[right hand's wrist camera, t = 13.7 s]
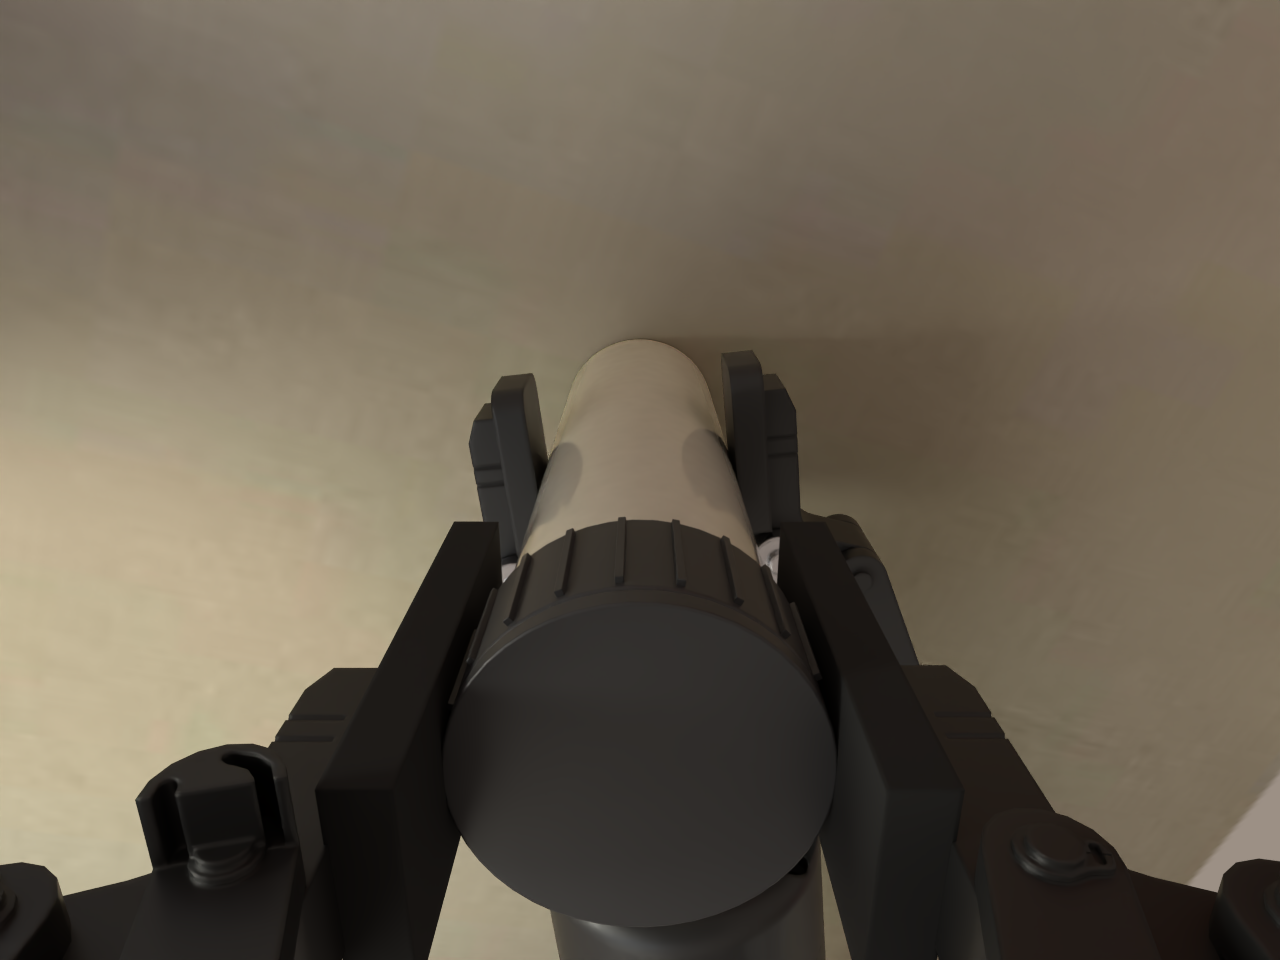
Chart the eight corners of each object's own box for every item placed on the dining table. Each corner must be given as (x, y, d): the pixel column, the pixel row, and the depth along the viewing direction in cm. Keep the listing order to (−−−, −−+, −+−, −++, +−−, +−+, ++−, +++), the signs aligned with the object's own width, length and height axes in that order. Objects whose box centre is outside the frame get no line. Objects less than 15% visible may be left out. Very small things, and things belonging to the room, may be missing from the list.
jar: (700, 327, 25) (794, 575, 10) (720, 465, 26) (828, 865, 11) (554, 351, 25) (426, 630, 10) (582, 487, 26) (508, 907, 11)
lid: (788, 485, 11) (825, 564, 9) (822, 777, 13) (862, 906, 11) (435, 541, 12) (386, 633, 9) (514, 820, 13) (489, 954, 11)
